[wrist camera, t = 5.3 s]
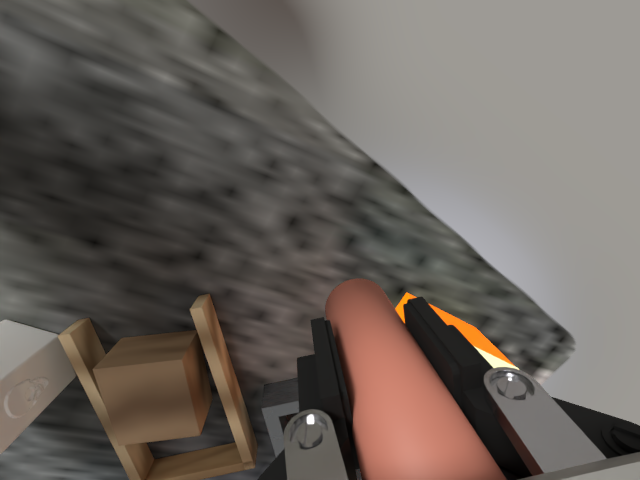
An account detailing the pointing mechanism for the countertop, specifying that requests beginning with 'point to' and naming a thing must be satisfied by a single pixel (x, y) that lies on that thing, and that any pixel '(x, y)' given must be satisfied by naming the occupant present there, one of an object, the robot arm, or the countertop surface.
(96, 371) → the tan wooden block
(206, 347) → the bay
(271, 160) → the countertop surface
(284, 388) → the grey hollow block
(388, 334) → the sausage
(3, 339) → the jar
